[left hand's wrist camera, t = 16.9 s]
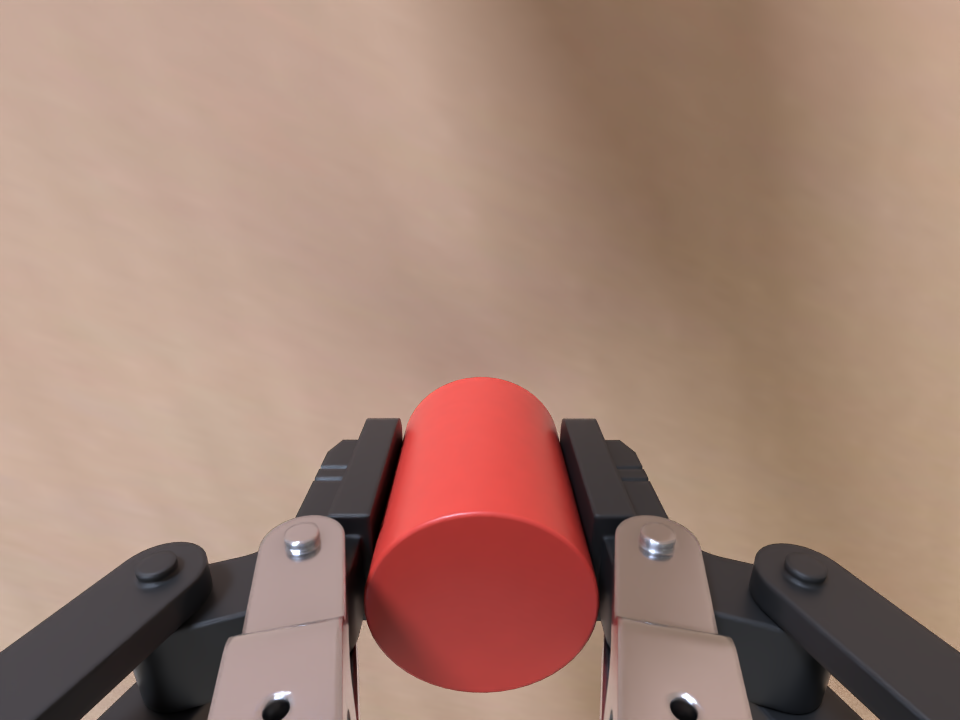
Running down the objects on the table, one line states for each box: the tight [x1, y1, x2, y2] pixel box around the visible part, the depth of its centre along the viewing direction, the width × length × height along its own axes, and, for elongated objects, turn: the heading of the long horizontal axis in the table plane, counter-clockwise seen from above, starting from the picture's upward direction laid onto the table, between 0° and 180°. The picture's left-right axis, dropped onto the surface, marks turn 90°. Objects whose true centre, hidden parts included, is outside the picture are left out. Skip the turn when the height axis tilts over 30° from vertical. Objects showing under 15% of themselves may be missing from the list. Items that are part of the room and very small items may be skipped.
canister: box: [364, 377, 600, 693], centre depth 11 cm, size 4×4×5 cm
